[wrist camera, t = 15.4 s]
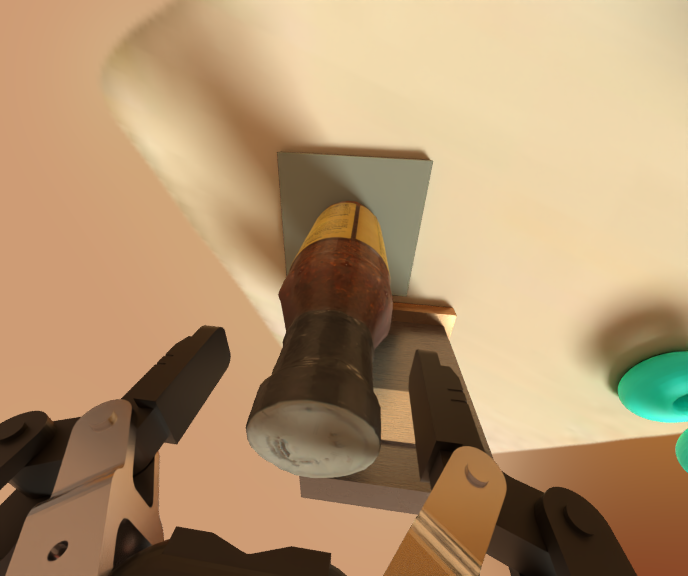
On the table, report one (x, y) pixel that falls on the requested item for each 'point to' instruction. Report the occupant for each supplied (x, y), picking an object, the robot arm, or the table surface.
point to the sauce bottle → (328, 351)
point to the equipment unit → (397, 416)
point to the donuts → (660, 393)
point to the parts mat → (360, 186)
